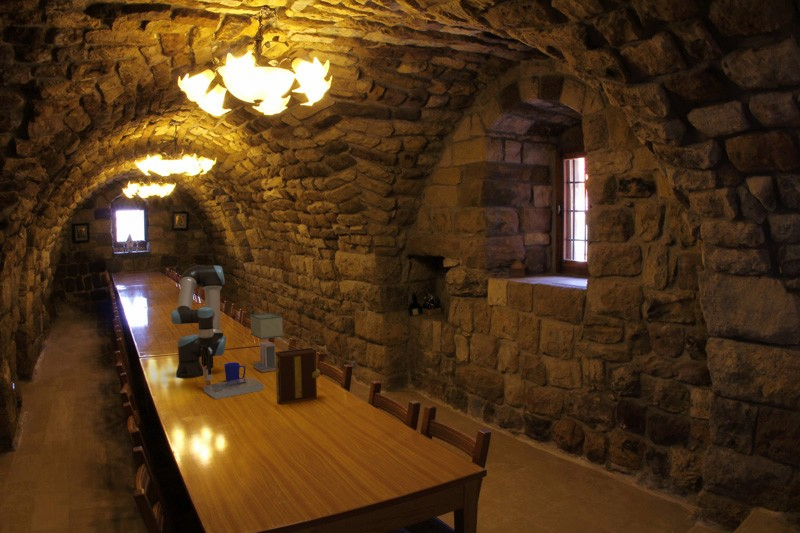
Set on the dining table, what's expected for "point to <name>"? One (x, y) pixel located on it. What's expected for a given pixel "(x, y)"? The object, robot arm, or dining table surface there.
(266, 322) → the desk lamp
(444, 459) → the dining table surface
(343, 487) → the dining table surface
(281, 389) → the book
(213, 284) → the robot arm
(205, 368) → the headed peg
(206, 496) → the dining table surface
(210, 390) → the keyhole plate
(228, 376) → the mug
